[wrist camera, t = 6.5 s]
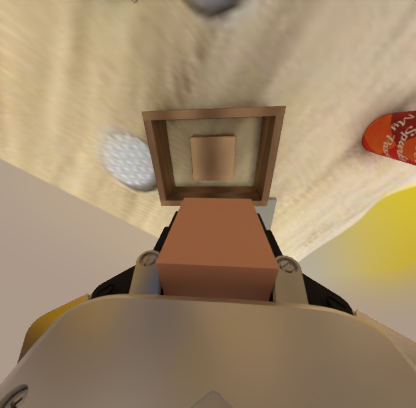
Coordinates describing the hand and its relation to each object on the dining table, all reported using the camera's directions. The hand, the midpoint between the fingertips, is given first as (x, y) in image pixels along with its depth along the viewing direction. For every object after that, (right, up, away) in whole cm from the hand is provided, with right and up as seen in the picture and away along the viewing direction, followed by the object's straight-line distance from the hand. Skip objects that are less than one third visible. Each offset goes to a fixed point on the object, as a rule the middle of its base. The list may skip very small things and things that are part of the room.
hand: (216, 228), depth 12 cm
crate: (0, +11, +15) cm, 19 cm away
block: (0, 0, 0) cm, 0 cm away
